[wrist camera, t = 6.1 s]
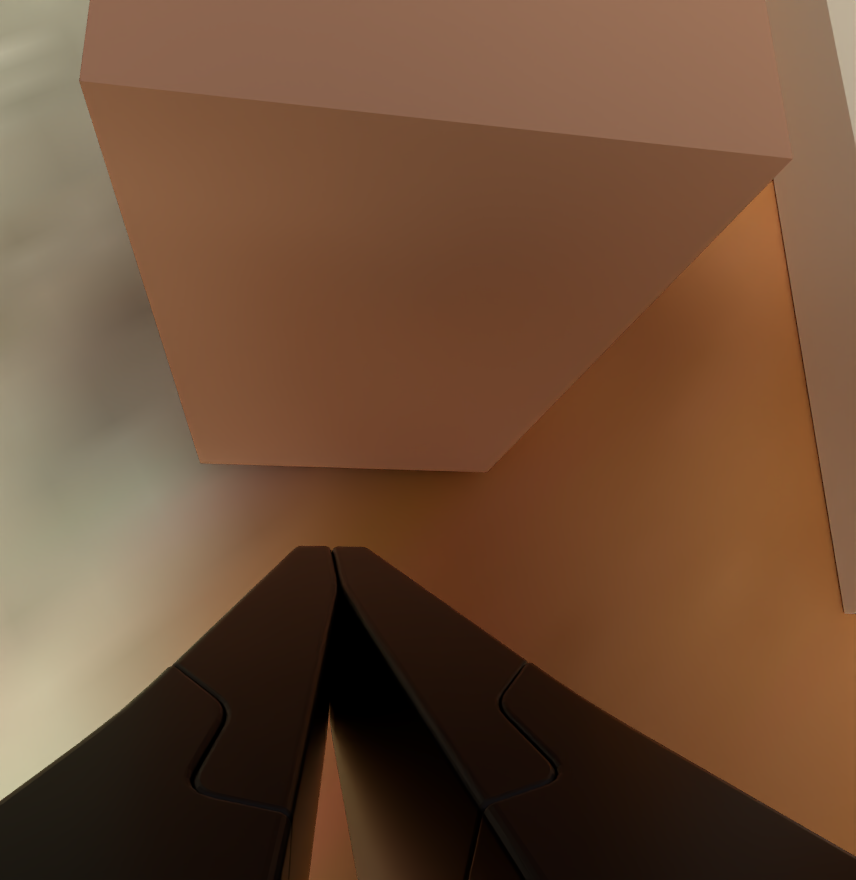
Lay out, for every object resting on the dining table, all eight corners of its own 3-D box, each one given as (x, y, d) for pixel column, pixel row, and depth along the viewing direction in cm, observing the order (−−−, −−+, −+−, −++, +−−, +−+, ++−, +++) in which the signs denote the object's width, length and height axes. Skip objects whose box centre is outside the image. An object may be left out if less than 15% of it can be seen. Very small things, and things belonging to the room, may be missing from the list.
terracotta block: (486, 472, 18) (793, 157, 7) (200, 463, 17) (79, 81, 6) (477, 228, 19) (712, -305, 9) (217, 206, 18) (146, -427, 8)
